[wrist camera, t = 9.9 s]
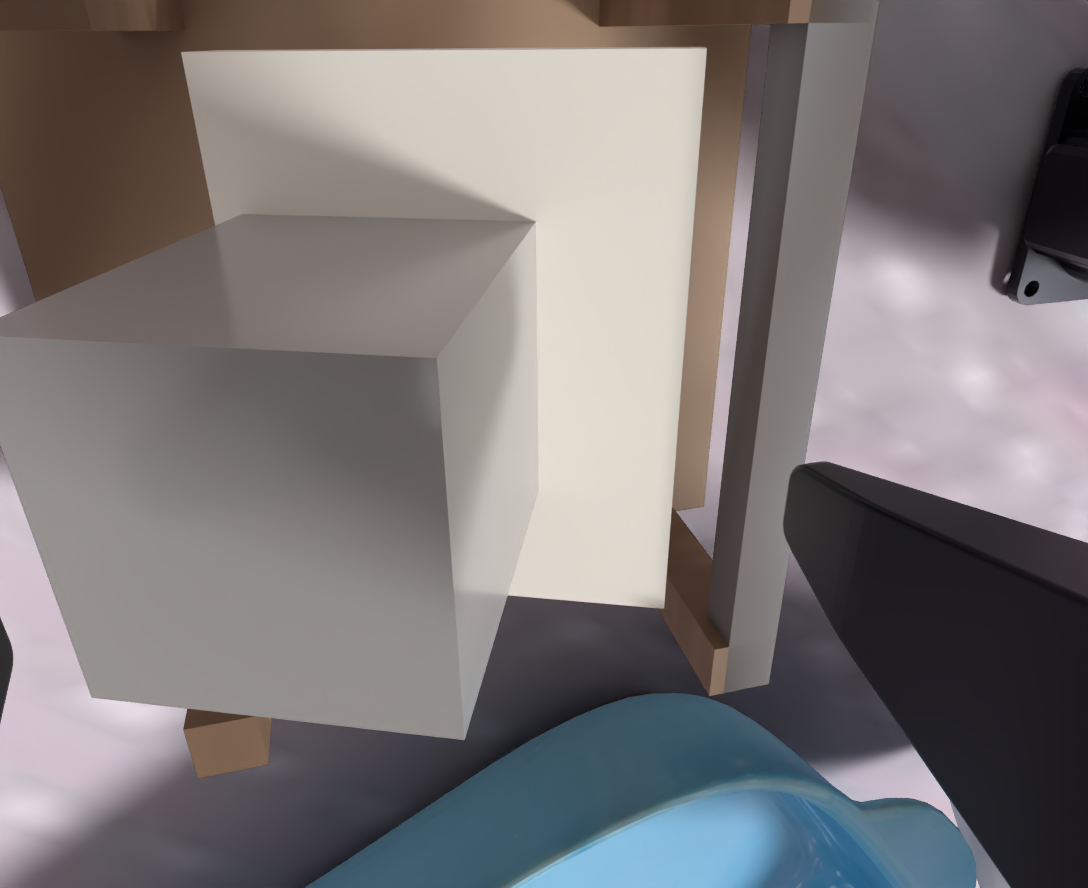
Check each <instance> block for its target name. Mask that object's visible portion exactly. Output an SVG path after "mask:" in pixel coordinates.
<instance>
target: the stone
mask: <svg viewBox="0 0 1088 888" xmlns="http://www.w3.org/2000/svg"><path fill="white" fill-rule="evenodd" d="M0 446H1V449H2V452H3V454H4V457H5V460H6V463H7V465H8V468H9V471H10V474H11V476H12V479H13V482H14V485H15V487H16V490H17V493H18V496H19V499H20V501H21V504H22V507H23V510H24V512H25V515H26V518H27V521H28V523H29V526H30V529H31V532H32V534H33V537H34V540H35V543H36V545H37V548H38V551H39V554H40V556H41V559H42V562H43V565H44V567H45V570H46V573H47V576H48V578H49V581H50V584H51V587H52V589H53V592H54V595H55V598H56V600H57V603H58V606H59V609H60V611H61V614H62V617H63V620H64V622H65V625H66V628H67V631H68V633H69V636H70V639H71V642H72V644H73V647H74V650H75V653H76V655H77V658H78V661H79V664H80V667H81V669H82V672H83V675H84V678H85V680H86V683H87V686H88V689H89V691H90V694H91V697H92V698H100V699H109V700H117V701H126V702H135V703H144V704H152V705H161V706H170V707H179V708H187V709H196V710H205V711H214V712H222V713H231V714H240V715H249V716H257V717H266V718H275V719H284V720H292V721H301V722H310V723H319V724H327V725H336V726H345V727H354V728H362V729H371V730H380V731H389V732H397V733H406V734H415V735H424V736H432V737H441V738H450V739H459V740H465V737H466V734H467V730H468V727H469V724H470V720H471V717H472V714H473V710H474V707H475V704H476V700H477V697H478V694H479V690H480V687H481V683H482V680H483V677H484V673H485V670H486V667H487V663H488V660H489V657H490V653H491V650H492V647H493V643H494V640H495V636H496V633H497V630H498V626H499V623H500V620H501V616H502V613H503V610H504V606H505V603H506V600H507V596H508V593H509V589H510V586H511V583H512V579H513V576H514V573H515V569H516V566H517V563H518V559H519V556H520V553H521V549H522V546H523V542H524V539H525V536H526V532H527V529H528V526H529V522H530V519H531V516H532V512H533V509H534V506H535V502H536V499H537V495H538V492H539V455H538V359H537V262H536V222H532V221H493V220H454V219H415V218H376V217H336V216H297V215H258V214H241V215H239V216H236V217H234V218H232V219H229V220H227V221H225V222H222V223H220V224H218V225H215V226H213V227H211V228H208V229H206V230H203V231H201V232H199V233H196V234H194V235H192V236H189V237H187V238H185V239H182V240H180V241H178V242H175V243H173V244H171V245H168V246H166V247H164V248H161V249H159V250H157V251H154V252H152V253H150V254H147V255H145V256H143V257H140V258H138V259H136V260H133V261H131V262H129V263H126V264H124V265H122V266H119V267H117V268H115V269H112V270H110V271H108V272H105V273H103V274H101V275H98V276H96V277H94V278H91V279H89V280H86V281H84V282H82V283H79V284H77V285H75V286H72V287H70V288H68V289H65V290H63V291H61V292H58V293H56V294H54V295H51V296H49V297H47V298H44V299H42V300H40V301H37V302H35V303H33V304H30V305H28V306H26V307H23V308H21V309H19V310H16V311H14V312H12V313H9V314H7V315H5V316H2V317H0Z"/></svg>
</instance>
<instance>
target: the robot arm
mask: <svg viewBox="0 0 1088 888" xmlns="http://www.w3.org/2000/svg"><path fill="white" fill-rule="evenodd" d="M1083 82H1084V87H1083V89H1082V91H1081V92H1080V87H1081V85H1082V83H1083ZM1028 283H1029V285H1028V287H1027V289H1026V290H1025V291H1024V289H1025V287H1026V285H1027V284H1028ZM1007 294H1008V297H1009V298H1010V299H1011V300H1012V301H1015V302H1017V303H1020V304H1023V305H1032V304H1042V303H1052V302H1062V301H1072V300H1082V299H1088V66H1081V67H1077V68H1075V69H1073V70H1072V71H1070V72H1069V73H1068V74H1067V76H1066V77H1065V78H1064V80H1063V82H1062V85H1061V87H1060V91H1059V95H1058V99H1057V102H1056V106H1055V110H1054V114H1053V117H1052V121H1051V125H1050V129H1049V133H1048V136H1047V140H1046V144H1045V148H1044V151H1043V155H1042V159H1041V163H1040V166H1039V170H1038V174H1037V178H1036V181H1035V185H1034V189H1033V193H1032V197H1031V200H1030V204H1029V208H1028V212H1027V215H1026V219H1025V223H1024V227H1023V230H1022V234H1021V238H1020V242H1019V245H1018V249H1017V253H1016V257H1015V261H1014V264H1013V268H1012V272H1011V276H1010V279H1009V283H1008V288H1007ZM783 532H784V536H785V539H786V541H787V543H788V545H789V547H790V549H791V551H792V553H793V555H794V556H795V558H796V560H797V562H798V564H799V566H800V567H801V569H802V571H803V573H804V575H805V577H806V579H807V580H808V582H809V584H810V586H811V588H812V590H813V592H814V593H815V595H816V597H817V599H818V601H819V603H820V605H821V606H822V608H823V610H824V612H825V614H826V616H827V617H828V619H829V621H830V623H831V625H832V626H833V628H834V630H835V631H836V633H837V635H838V637H839V638H840V640H841V641H842V643H843V644H844V646H845V647H846V649H847V651H848V652H849V654H850V655H851V657H852V658H853V659H854V661H855V662H856V664H857V665H858V667H859V668H860V670H861V671H862V673H863V674H864V675H865V677H866V678H867V680H868V681H869V683H870V684H871V686H872V687H873V689H874V690H875V691H876V693H877V694H878V696H879V697H880V699H881V700H882V702H883V703H884V705H885V706H886V707H887V709H888V710H889V712H890V713H891V715H892V716H893V718H894V719H895V721H896V722H897V723H898V725H899V726H900V728H901V729H902V731H903V732H904V734H905V735H906V737H907V738H908V739H909V741H910V742H911V744H912V745H913V747H914V748H915V750H916V751H917V753H918V754H919V755H920V757H921V758H922V760H923V761H924V763H925V764H926V766H927V767H928V769H929V770H930V771H931V773H932V774H933V776H934V777H935V779H936V780H937V782H938V783H939V785H940V786H941V787H942V789H943V790H944V792H945V793H946V795H947V796H948V798H949V799H950V801H951V802H952V803H953V805H954V806H955V808H956V809H957V811H958V812H959V814H960V815H961V817H962V818H963V819H964V821H965V822H966V824H967V825H968V827H969V828H970V830H971V831H972V833H973V834H974V835H975V837H976V838H977V840H978V841H979V843H980V844H981V846H982V847H983V849H984V850H985V851H986V853H987V854H988V856H989V857H990V859H991V860H992V862H993V863H994V865H995V866H996V867H997V869H998V870H999V872H1000V873H1001V875H1002V876H1003V878H1004V879H1005V881H1006V882H1007V883H1008V885H1009V886H1010V888H1088V543H1086V542H1083V541H1079V540H1076V539H1073V538H1070V537H1067V536H1063V535H1060V534H1057V533H1054V532H1051V531H1047V530H1044V529H1041V528H1038V527H1035V526H1032V525H1028V524H1025V523H1022V522H1019V521H1016V520H1012V519H1009V518H1006V517H1003V516H1000V515H996V514H993V513H990V512H987V511H984V510H980V509H977V508H974V507H971V506H968V505H964V504H961V503H958V502H955V501H952V500H949V499H945V498H942V497H939V496H936V495H933V494H929V493H926V492H923V491H920V490H917V489H913V488H910V487H907V486H904V485H901V484H897V483H894V482H891V481H888V480H885V479H881V478H878V477H875V476H872V475H869V474H866V473H862V472H859V471H856V470H853V469H850V468H846V467H843V466H840V465H837V464H834V463H830V462H815V463H808V464H802V465H798V466H796V467H795V468H794V469H793V470H792V472H791V474H790V478H789V483H788V490H787V496H786V503H785V510H784V516H783ZM12 667H13V651H12V646H11V643H10V640H9V638H8V635H7V633H6V630H5V628H4V625H3V623H2V621H1V618H0V722H1V718H2V713H3V709H4V704H5V700H6V695H7V691H8V686H9V682H10V677H11V673H12Z"/></svg>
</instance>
